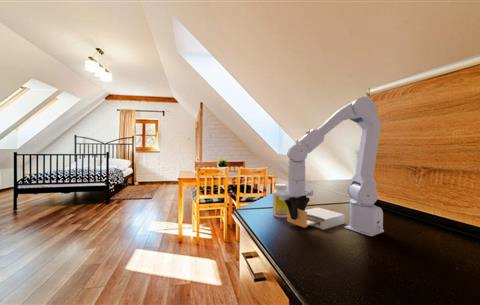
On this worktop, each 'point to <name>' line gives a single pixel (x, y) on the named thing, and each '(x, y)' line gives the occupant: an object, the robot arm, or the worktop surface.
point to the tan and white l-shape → (301, 219)
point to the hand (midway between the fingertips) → (296, 218)
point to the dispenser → (325, 218)
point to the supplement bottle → (279, 201)
